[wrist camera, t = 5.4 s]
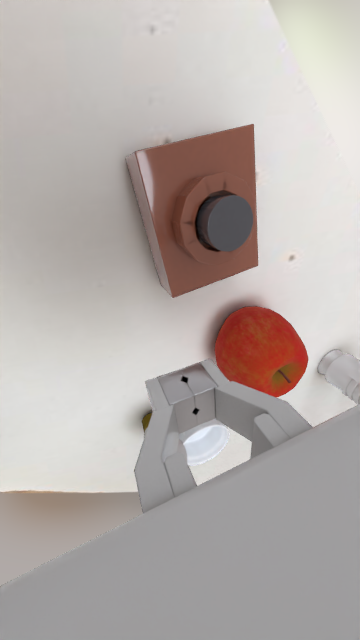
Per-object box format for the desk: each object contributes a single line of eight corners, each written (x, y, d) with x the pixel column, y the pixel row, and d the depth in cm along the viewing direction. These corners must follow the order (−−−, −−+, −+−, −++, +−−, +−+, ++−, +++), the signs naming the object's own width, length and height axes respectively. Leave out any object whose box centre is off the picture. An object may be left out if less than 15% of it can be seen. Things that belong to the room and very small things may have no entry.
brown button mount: (124, 157, 20) (141, 146, 15) (227, 133, 22) (271, 116, 17) (160, 285, 26) (180, 306, 21) (237, 257, 28) (271, 271, 23)
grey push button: (191, 202, 18) (203, 203, 16) (236, 189, 19) (252, 188, 17) (200, 252, 20) (211, 258, 19) (240, 239, 21) (254, 243, 19)
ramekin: (161, 423, 37) (170, 448, 34) (209, 395, 38) (223, 416, 35) (179, 449, 42) (188, 473, 38) (221, 424, 43) (234, 444, 40)
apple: (199, 312, 30) (249, 361, 21) (270, 287, 33) (341, 323, 24) (207, 373, 36) (250, 431, 27) (267, 348, 38) (323, 394, 29)
